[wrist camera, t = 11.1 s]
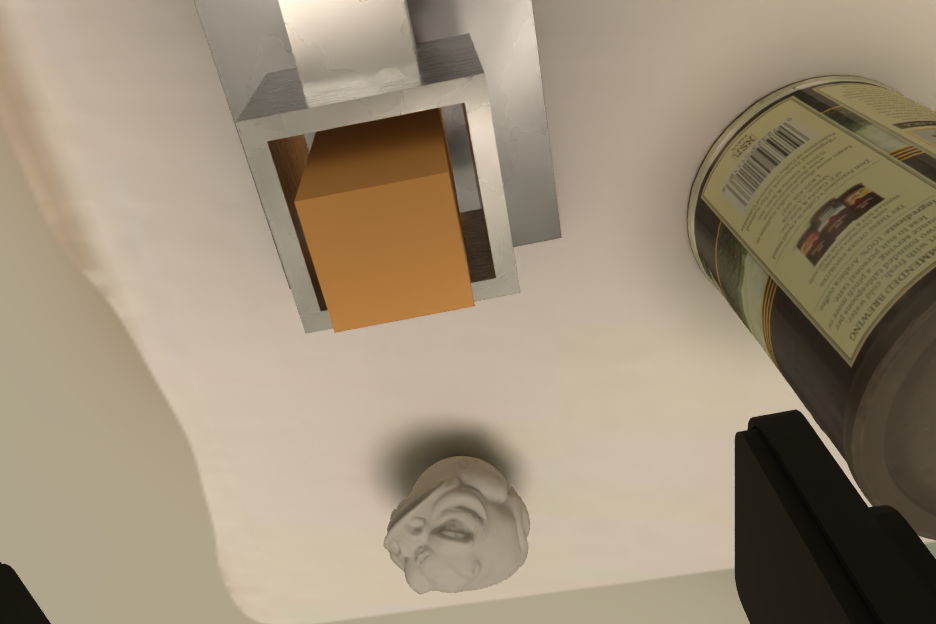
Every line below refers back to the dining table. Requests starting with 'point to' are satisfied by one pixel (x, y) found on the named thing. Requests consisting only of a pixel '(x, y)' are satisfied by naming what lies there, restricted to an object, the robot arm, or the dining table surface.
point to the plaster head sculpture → (459, 528)
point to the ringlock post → (392, 112)
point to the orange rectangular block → (384, 221)
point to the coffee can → (837, 268)
